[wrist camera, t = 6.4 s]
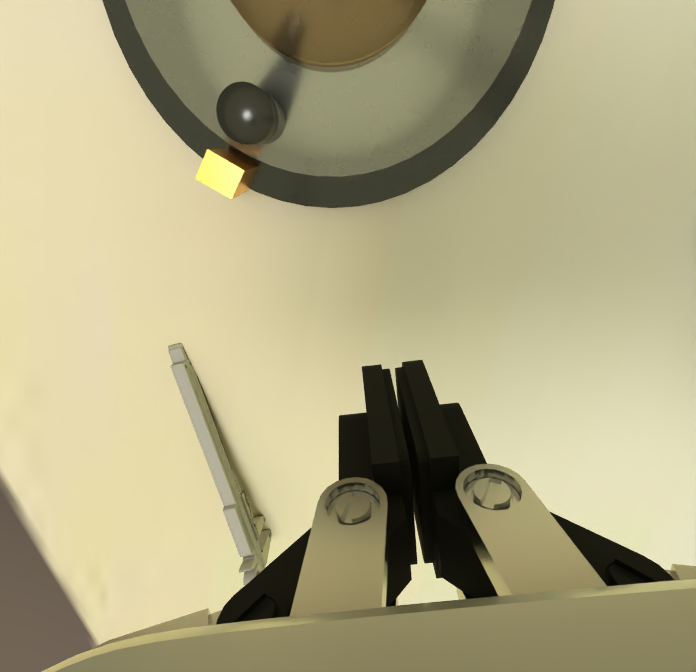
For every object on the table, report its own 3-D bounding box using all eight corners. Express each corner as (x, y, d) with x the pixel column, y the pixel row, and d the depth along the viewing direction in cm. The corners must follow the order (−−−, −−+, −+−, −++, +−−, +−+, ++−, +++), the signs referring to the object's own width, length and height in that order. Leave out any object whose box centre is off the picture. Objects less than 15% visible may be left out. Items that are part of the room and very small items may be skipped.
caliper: (273, 530, 40) (262, 593, 35) (262, 532, 41) (249, 596, 35) (182, 340, 32) (149, 383, 27) (169, 344, 32) (132, 387, 27)
